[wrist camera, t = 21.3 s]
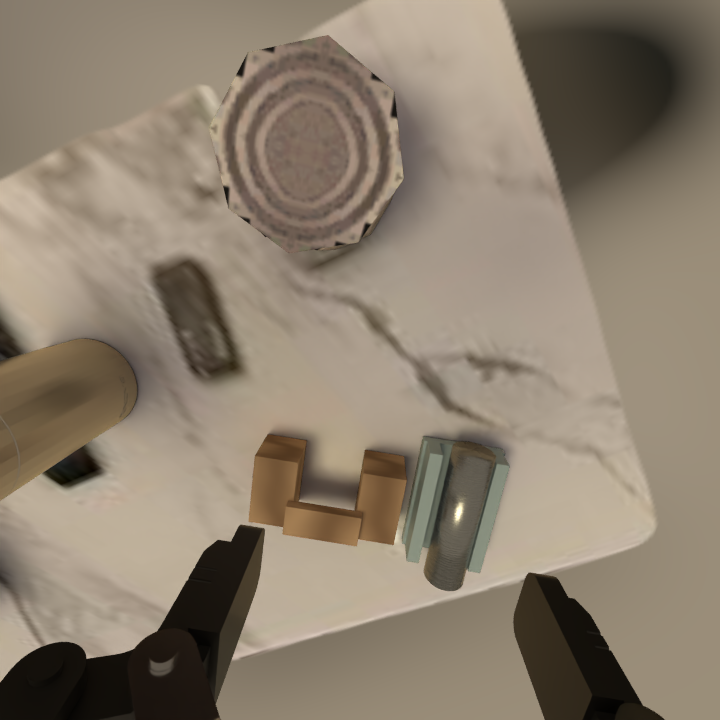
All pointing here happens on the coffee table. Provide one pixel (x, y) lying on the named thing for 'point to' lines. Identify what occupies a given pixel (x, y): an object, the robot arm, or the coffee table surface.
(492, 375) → the coffee table surface
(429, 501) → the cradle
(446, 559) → the axle
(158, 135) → the coffee table surface
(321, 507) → the brown h-shaped block
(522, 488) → the coffee table surface
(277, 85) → the can
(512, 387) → the coffee table surface
